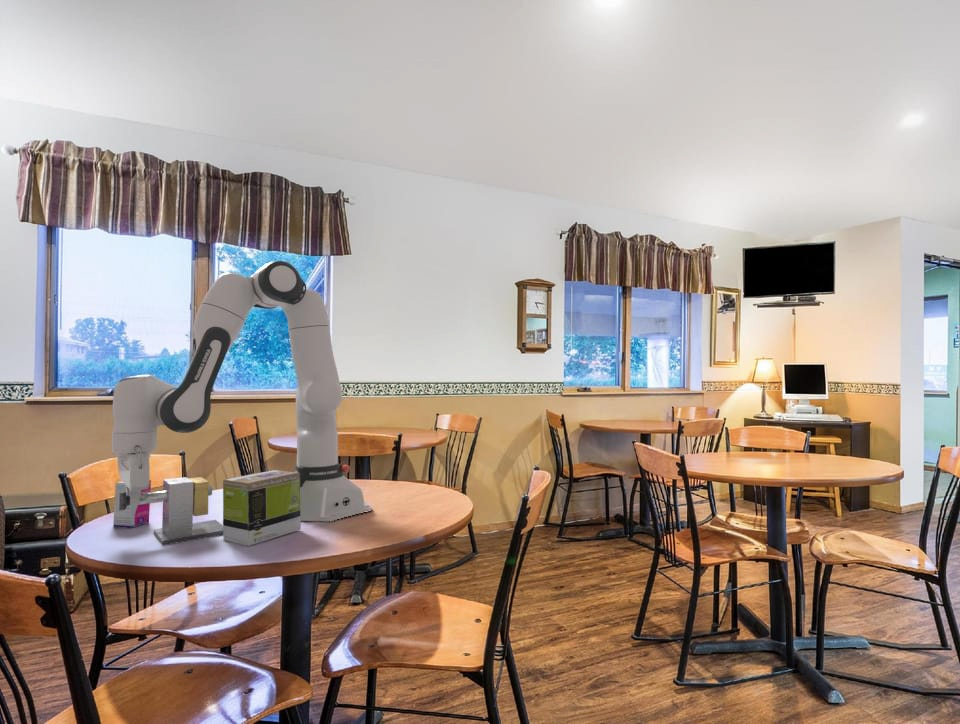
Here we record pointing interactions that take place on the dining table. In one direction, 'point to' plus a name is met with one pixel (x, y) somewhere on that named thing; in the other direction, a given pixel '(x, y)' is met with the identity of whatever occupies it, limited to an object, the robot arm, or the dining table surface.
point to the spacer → (200, 496)
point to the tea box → (261, 506)
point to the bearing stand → (182, 515)
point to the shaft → (146, 498)
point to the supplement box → (130, 510)
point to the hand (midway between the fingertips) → (133, 503)
